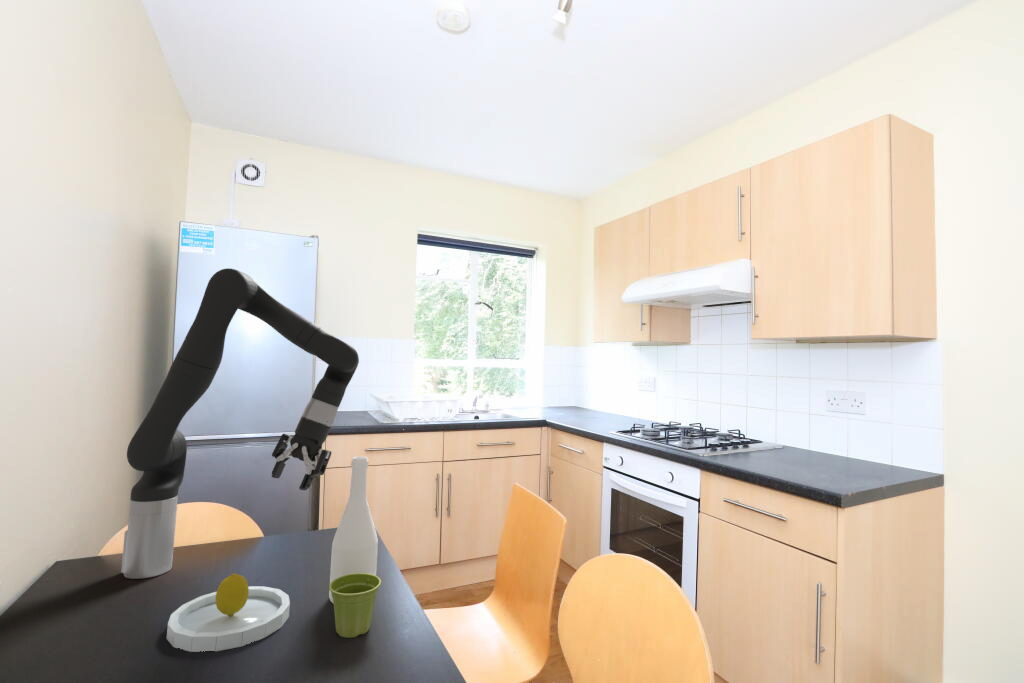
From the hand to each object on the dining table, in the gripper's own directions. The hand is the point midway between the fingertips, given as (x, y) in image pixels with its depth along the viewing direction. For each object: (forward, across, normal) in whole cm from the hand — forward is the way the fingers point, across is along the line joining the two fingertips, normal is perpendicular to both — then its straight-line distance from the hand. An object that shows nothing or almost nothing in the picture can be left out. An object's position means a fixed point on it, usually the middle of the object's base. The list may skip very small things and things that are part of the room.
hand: (288, 483), depth 117 cm
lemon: (+23, +12, -16) cm, 30 cm away
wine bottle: (+16, +27, 0) cm, 31 cm away
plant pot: (+17, +35, -11) cm, 40 cm away
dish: (+24, +12, -16) cm, 31 cm away
